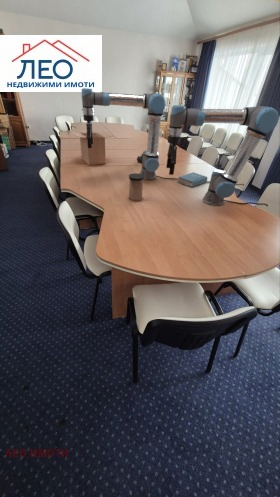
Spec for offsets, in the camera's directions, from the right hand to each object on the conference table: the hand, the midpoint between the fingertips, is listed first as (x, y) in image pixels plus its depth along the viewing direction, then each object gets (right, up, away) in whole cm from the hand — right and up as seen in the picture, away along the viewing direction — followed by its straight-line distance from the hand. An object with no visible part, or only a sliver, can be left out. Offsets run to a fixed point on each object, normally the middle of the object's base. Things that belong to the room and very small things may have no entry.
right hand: (169, 171), depth 146 cm
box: (-70, +43, +91) cm, 122 cm away
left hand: (-59, +29, +27) cm, 71 cm away
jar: (-23, -13, +21) cm, 34 cm away
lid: (-22, 0, +11) cm, 25 cm away
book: (+28, +9, +56) cm, 63 cm away
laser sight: (-12, +43, +97) cm, 107 cm away
